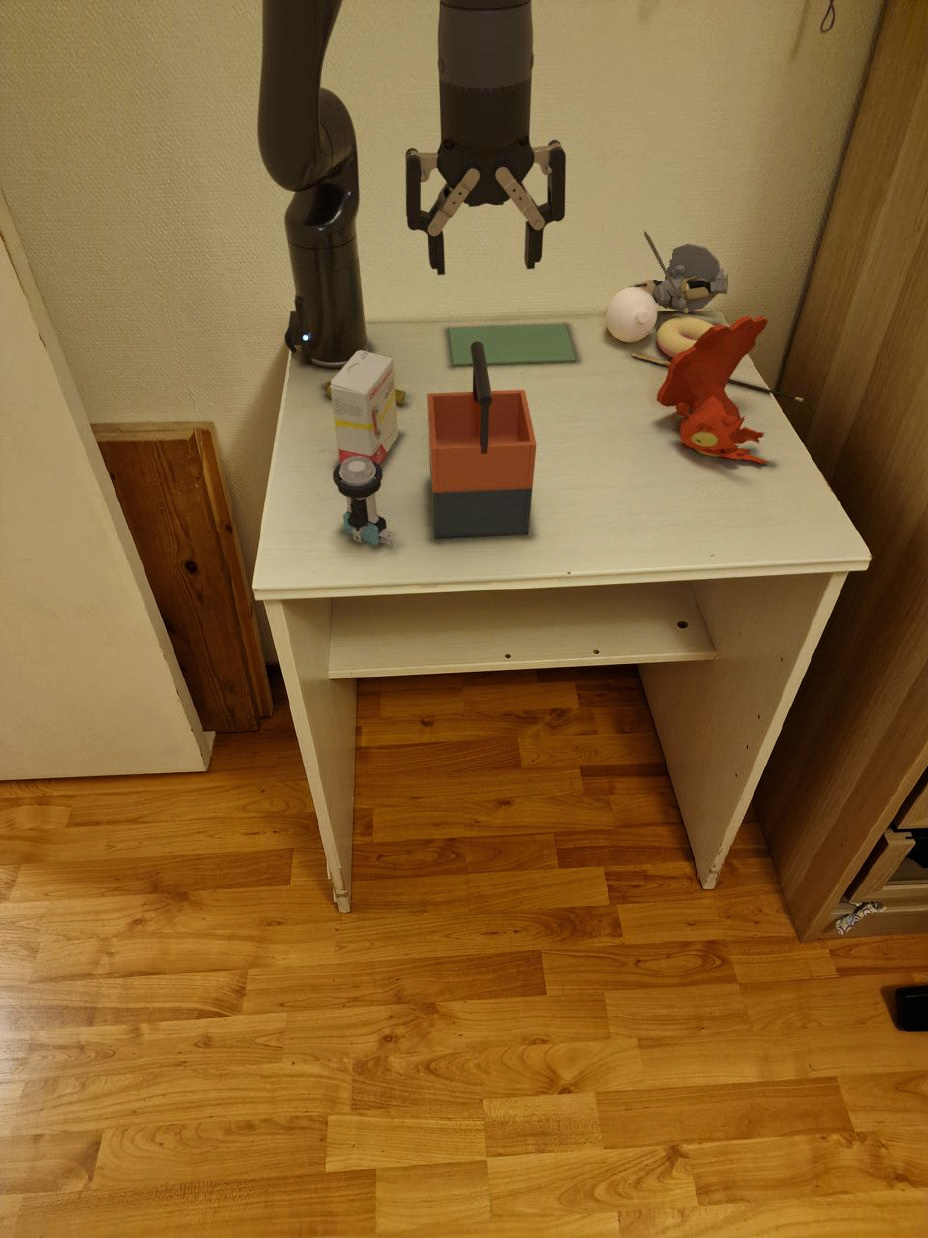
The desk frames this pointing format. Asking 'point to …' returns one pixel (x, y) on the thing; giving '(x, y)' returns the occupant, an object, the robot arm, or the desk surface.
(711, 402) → the toy
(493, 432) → the box
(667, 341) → the donut
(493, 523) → the bottom basket
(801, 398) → the brush
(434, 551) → the desk surface
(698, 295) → the toy
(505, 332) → the mat
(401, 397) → the key
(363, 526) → the push button
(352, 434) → the ink box
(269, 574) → the desk surface
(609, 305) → the spinning top
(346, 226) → the robot arm
